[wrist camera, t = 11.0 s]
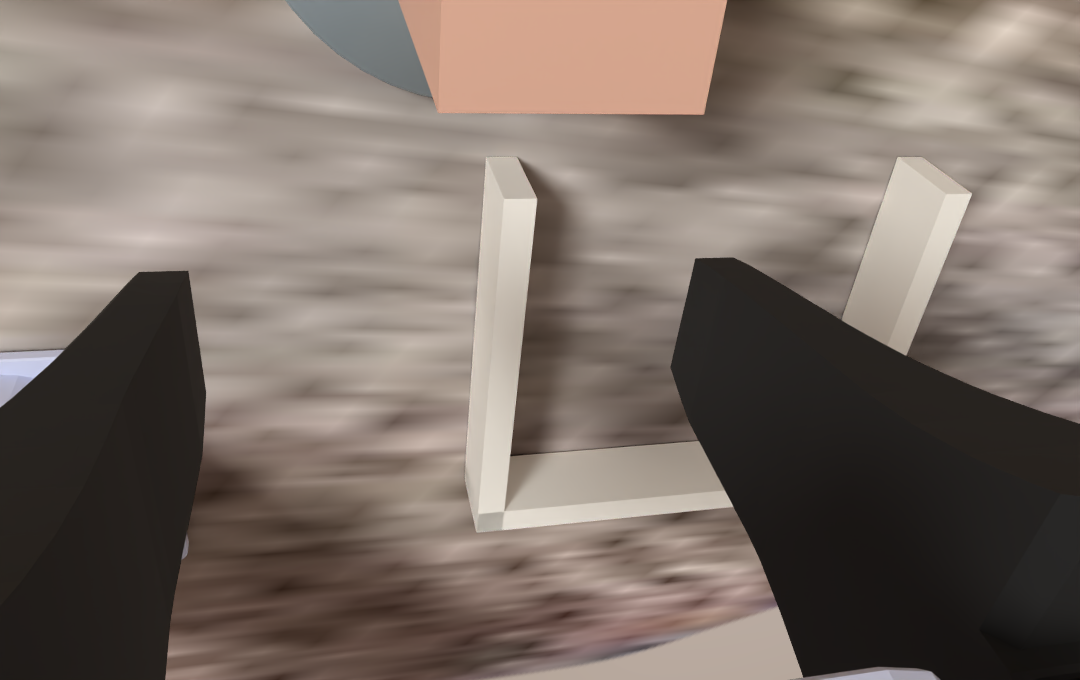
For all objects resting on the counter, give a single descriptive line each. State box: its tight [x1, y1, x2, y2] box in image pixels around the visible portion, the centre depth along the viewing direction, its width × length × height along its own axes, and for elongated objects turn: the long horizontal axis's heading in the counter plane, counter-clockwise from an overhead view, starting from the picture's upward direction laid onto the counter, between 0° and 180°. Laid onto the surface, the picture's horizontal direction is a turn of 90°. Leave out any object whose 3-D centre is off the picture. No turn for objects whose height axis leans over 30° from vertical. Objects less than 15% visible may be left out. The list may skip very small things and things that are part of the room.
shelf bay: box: [464, 157, 972, 533], centre depth 27 cm, size 13×11×2 cm
